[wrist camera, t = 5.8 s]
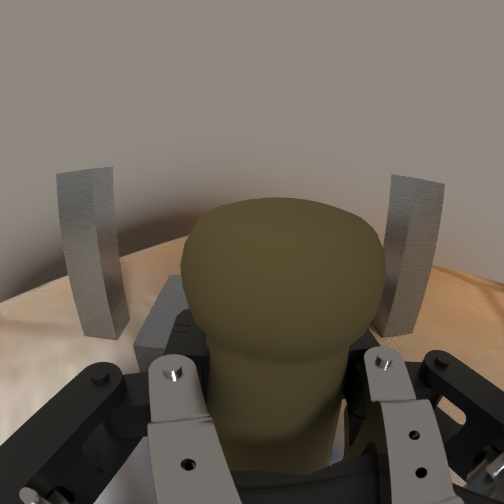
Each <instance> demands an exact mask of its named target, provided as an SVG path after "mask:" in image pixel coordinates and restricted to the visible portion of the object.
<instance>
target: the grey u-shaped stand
mask: <svg viewBox="0 0 504 504" xmlns="http://www.w3.org/2000/svg"><path fill="white" fill-rule="evenodd" d="M56 179H57V197H58V209H59V218H60V227H61V235H62V242H63V248H64V254H65V260H66V265H67V270H68V275H69V280H70V284H71V289H72V293H73V297H74V301H75V305H76V308H77V312H78V316H79V319H80V322H81V326H82V329H83V332H84V335H86V336H92V337H99V338H106V339H114V340H117V339H118V338H119V336H120V334H121V333H122V331H123V329H124V327H125V326H126V324H127V322H128V321H129V319H130V318H129V314H128V309H127V303H126V298H125V292H124V287H123V281H122V274H121V267H120V260H119V254H118V244H117V235H116V225H115V213H114V196H113V167H107V168H97V169H87V170H80V171H73V172H67V173H60V174H56ZM444 186H445V184H442V183H437V182H432V181H427V180H422V179H416V178H411V177H405V176H398V175H391V187H390V199H389V208H388V216H387V224H386V231H385V238H384V244H383V250H384V253H385V260H386V281H385V285H384V289H383V293H382V297H381V301H380V304H379V307H378V309H377V312H376V315H375V316H374V318H373V320H372V324H373V325H374V326H375V328H376V329H377V330H378V332H379V333H380V334H381V336H382V337H383V338H384V337H391V336H397V335H404V334H410V333H412V332H413V329H414V326H415V323H416V320H417V317H418V314H419V311H420V308H421V304H422V301H423V298H424V294H425V291H426V287H427V283H428V279H429V275H430V271H431V267H432V262H433V258H434V253H435V248H436V243H437V238H438V232H439V226H440V220H441V213H442V205H443V196H444ZM184 309H188V310H190V308H189V305H188V302H187V299H186V296H185V293H184V290H183V286H182V276H179V275H170V276H169V278H168V279H167V281H166V283H165V285H164V287H163V289H162V290H161V292H160V294H159V296H158V298H157V300H156V302H155V303H154V305H153V307H152V309H151V311H150V313H149V315H148V317H147V319H146V321H145V323H144V325H143V327H142V329H141V331H140V333H139V335H138V337H137V339H136V341H135V343H134V345H133V347H134V350H135V354H136V358H137V362H138V365H139V369H140V372H141V373H142V372H146V371H148V370H149V367H150V365H151V363H152V362H153V361H154V360H156V359H157V358H159V357H162V356H163V354H164V351H165V348H166V345H167V342H168V339H169V336H170V333H171V330H172V327H173V326H174V322H175V319H176V316H177V315H178V314H179V313H181V312H182V311H183V310H184Z"/></svg>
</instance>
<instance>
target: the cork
mask: <svg viewBox="0 0 504 504" xmlns="http://www.w3.org/2000/svg"><path fill="white" fill-rule="evenodd" d="M181 276H182V286H183V290H184V293H185V296H186V299H187V302H188V305H189V308H190V310H191V313H192V316H193V318H194V321H195V323H196V325H197V326H198V327H200V328H201V329H202V330H203V331H204V332H205V333H206V334H207V336H206V346H207V348H208V351H209V377H208V387H207V398H206V407H207V411H208V414H209V415H210V416H211V417H212V420H213V423H214V426H215V429H216V433H217V436H218V439H219V442H220V445H221V448H222V451H223V454H224V457H225V460H226V463H227V465H228V468H229V471H257V470H263V471H270V472H278V473H286V474H297V475H307V474H311V473H313V472H316V471H318V470H321V469H323V468H326V467H327V466H328V462H329V458H330V454H331V450H332V446H333V441H334V437H335V432H336V428H337V423H338V418H339V412H340V407H341V401H342V395H343V389H344V383H345V376H346V369H347V362H348V353H349V346H350V345H351V344H352V343H354V342H355V341H356V340H357V339H359V338H360V337H361V336H362V335H363V334H364V333H365V332H366V330H367V328H368V327H369V325H370V323H371V322H372V320H373V318H374V316H375V315H376V312H377V309H378V307H379V304H380V301H381V297H382V293H383V289H384V285H385V281H386V260H385V253H384V250H383V248H382V245H381V243H380V240H379V237H378V235H377V233H376V232H375V231H374V229H373V228H372V227H371V226H370V225H369V224H368V223H367V222H366V221H364V220H363V219H362V218H360V217H358V216H356V215H354V214H352V213H350V212H347V211H344V210H342V209H339V208H336V207H334V206H330V205H327V204H323V203H318V202H314V201H309V200H302V199H294V198H260V199H251V200H245V201H239V202H235V203H231V204H226V205H222V206H219V207H216V208H214V209H212V210H210V211H209V212H207V213H206V214H204V215H203V216H201V217H200V218H199V219H198V221H197V223H196V224H195V226H194V228H193V230H192V232H191V233H190V235H189V237H188V238H187V240H186V242H185V245H184V250H183V255H182V260H181Z"/></svg>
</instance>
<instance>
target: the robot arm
mask: <svg viewBox="0 0 504 504" xmlns="http://www.w3.org/2000/svg"><path fill="white" fill-rule="evenodd" d="M206 336H207V334H206V333H205V332H204V331H203V330H202V329H201V328H200V327H198V326H197V325H196V323H195V321H194V318H193V316H192V313H191V310H188V309H184V310H183V311H182V312H181V313H179V314H178V315H177V316H176V319H175V322H174V326H173V327H172V330H171V333H170V336H169V339H168V342H167V345H166V348H165V351H164V354H163V356H162V357H159V358H157V359H156V360H154V361H153V362H152V363H151V365H150V367H149V370H148V371H146V372H142V373H135V374H126V375H123V374H122V372H121V370H120V368H119V367H118V366H116V365H115V364H112V363H108V362H98V363H94V364H92V365H89V366H88V367H86V368H85V369H84V370H83V371H81V372H80V373H79V374H78V375H77V376H76V377H75V378H74V379H72V380H71V381H70V382H69V383H68V384H67V385H66V386H65V387H64V388H62V389H61V390H60V391H59V392H58V393H57V394H56V395H55V396H54V397H52V398H51V399H50V400H49V401H48V402H47V403H46V404H45V405H44V406H43V407H42V408H40V409H39V410H38V411H37V412H36V413H35V414H34V415H33V416H32V417H31V418H30V419H29V420H27V421H26V422H25V423H24V424H23V425H22V426H21V427H20V428H19V429H18V430H17V431H16V432H15V433H14V434H13V435H11V436H10V437H9V438H8V439H7V440H6V441H5V442H4V443H3V444H2V445H1V446H0V504H93V503H94V502H95V501H96V499H97V498H98V497H99V495H100V494H101V493H102V491H103V490H104V489H105V488H106V486H107V485H108V484H109V482H110V481H111V480H112V478H113V477H114V476H115V474H116V473H117V472H118V470H119V469H120V468H121V466H122V465H123V464H124V462H125V461H126V460H127V458H128V457H129V456H130V454H131V453H132V451H133V450H134V449H135V447H136V446H137V445H138V443H139V442H140V441H141V439H142V438H143V437H145V436H148V440H149V450H150V458H151V466H152V473H153V480H154V486H155V492H156V498H157V503H158V504H504V392H503V391H502V390H501V389H499V388H498V387H496V386H495V385H494V384H492V383H491V382H489V381H488V380H487V379H485V378H484V377H482V376H481V375H480V374H478V373H477V372H475V371H474V370H472V369H471V368H470V367H468V366H467V365H465V364H464V363H462V362H461V361H460V360H458V359H457V358H455V357H454V356H452V355H451V354H449V353H447V352H445V351H441V350H432V351H430V352H428V353H427V354H426V355H425V357H424V360H423V362H406V361H404V360H403V357H402V356H401V355H400V354H399V353H398V352H397V351H395V350H393V349H391V348H387V347H381V346H380V345H379V343H378V342H377V340H376V339H375V337H374V336H373V335H372V333H371V332H370V330H369V329H367V330H366V332H365V333H364V334H363V335H362V336H361V337H360V338H359V339H357V340H356V341H355V342H354V343H352V344H351V345H350V346H349V353H348V362H347V369H346V376H345V383H344V389H343V395H342V399H346V401H347V405H346V407H345V410H344V430H345V451H344V457H343V460H342V461H340V462H337V463H335V464H333V465H331V466H328V467H326V468H323V469H321V470H318V471H316V472H313V473H311V474H307V475H297V474H286V473H278V472H270V471H263V470H257V471H229V468H228V465H227V463H226V460H225V457H224V454H223V451H222V448H221V445H220V442H219V439H218V436H217V433H216V429H215V426H214V423H213V420H212V417H211V416H210V415H209V414H208V411H207V407H206V398H207V387H208V377H209V351H208V348H207V346H206ZM443 396H444V397H445V398H447V399H448V400H449V401H450V402H452V403H453V404H454V405H456V406H457V407H458V408H459V409H461V410H462V411H463V412H464V413H465V415H466V422H465V424H464V425H460V424H458V423H457V422H456V421H454V420H453V419H452V418H451V417H450V416H448V415H447V414H446V413H445V412H444V411H442V410H441V409H440V408H439V407H437V405H438V403H439V402H440V400H441V399H442V397H443ZM449 467H450V468H451V469H452V470H453V471H454V472H455V473H456V474H457V475H459V476H460V477H461V478H462V479H463V480H464V481H465V482H466V483H467V484H465V485H464V486H463V487H461V486H458V485H456V484H454V483H452V481H451V476H450V471H449Z"/></svg>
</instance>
